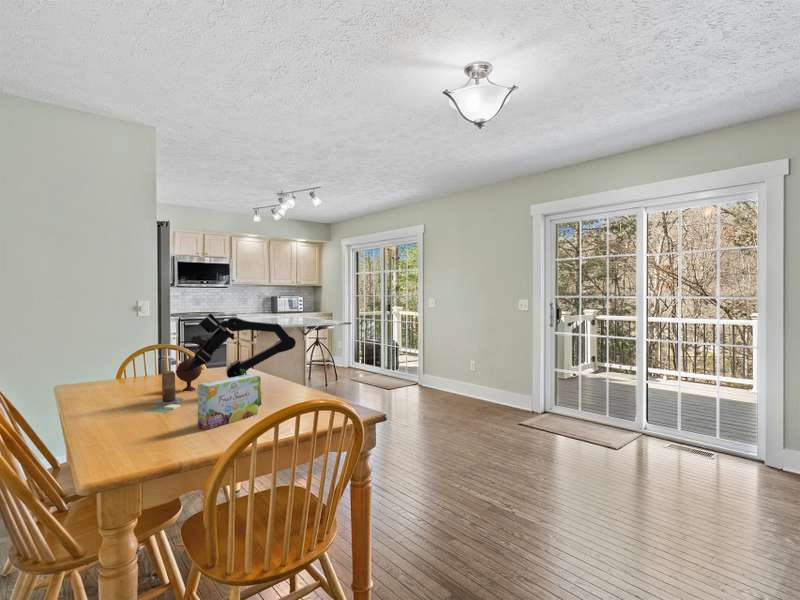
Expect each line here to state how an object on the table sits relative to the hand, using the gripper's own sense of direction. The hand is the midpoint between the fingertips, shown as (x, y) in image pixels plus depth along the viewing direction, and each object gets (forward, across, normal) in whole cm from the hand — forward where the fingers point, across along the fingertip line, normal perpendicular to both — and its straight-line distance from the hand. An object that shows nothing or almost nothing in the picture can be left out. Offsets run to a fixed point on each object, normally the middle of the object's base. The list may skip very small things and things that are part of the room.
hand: (188, 368), depth 183 cm
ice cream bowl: (+10, -20, +9) cm, 24 cm away
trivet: (+15, 0, +4) cm, 16 cm away
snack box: (0, +38, +20) cm, 43 cm away
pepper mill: (+14, 0, +4) cm, 15 cm away
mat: (+16, +12, +3) cm, 20 cm away
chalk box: (-5, +18, +25) cm, 31 cm away
